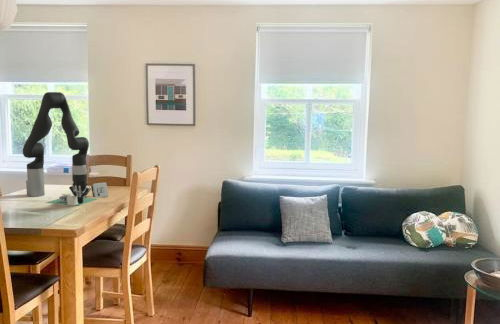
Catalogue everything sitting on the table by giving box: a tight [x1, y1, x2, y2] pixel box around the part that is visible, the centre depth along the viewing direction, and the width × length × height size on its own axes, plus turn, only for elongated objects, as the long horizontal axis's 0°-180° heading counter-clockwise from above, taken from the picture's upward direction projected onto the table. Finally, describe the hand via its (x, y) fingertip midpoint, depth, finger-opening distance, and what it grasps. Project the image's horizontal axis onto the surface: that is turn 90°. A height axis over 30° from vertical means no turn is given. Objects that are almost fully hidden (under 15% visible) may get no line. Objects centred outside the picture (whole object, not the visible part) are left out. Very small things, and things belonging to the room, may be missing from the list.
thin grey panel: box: [58, 192, 74, 199], centre depth 234 cm, size 16×3×1 cm, turn 166°
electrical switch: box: [90, 181, 109, 199], centre depth 252 cm, size 9×5×9 cm, turn 141°
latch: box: [61, 192, 78, 206], centre depth 226 cm, size 8×4×6 cm, turn 76°
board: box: [45, 196, 98, 207], centre depth 235 cm, size 22×19×7 cm
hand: (80, 203), depth 225 cm, fingers closed
